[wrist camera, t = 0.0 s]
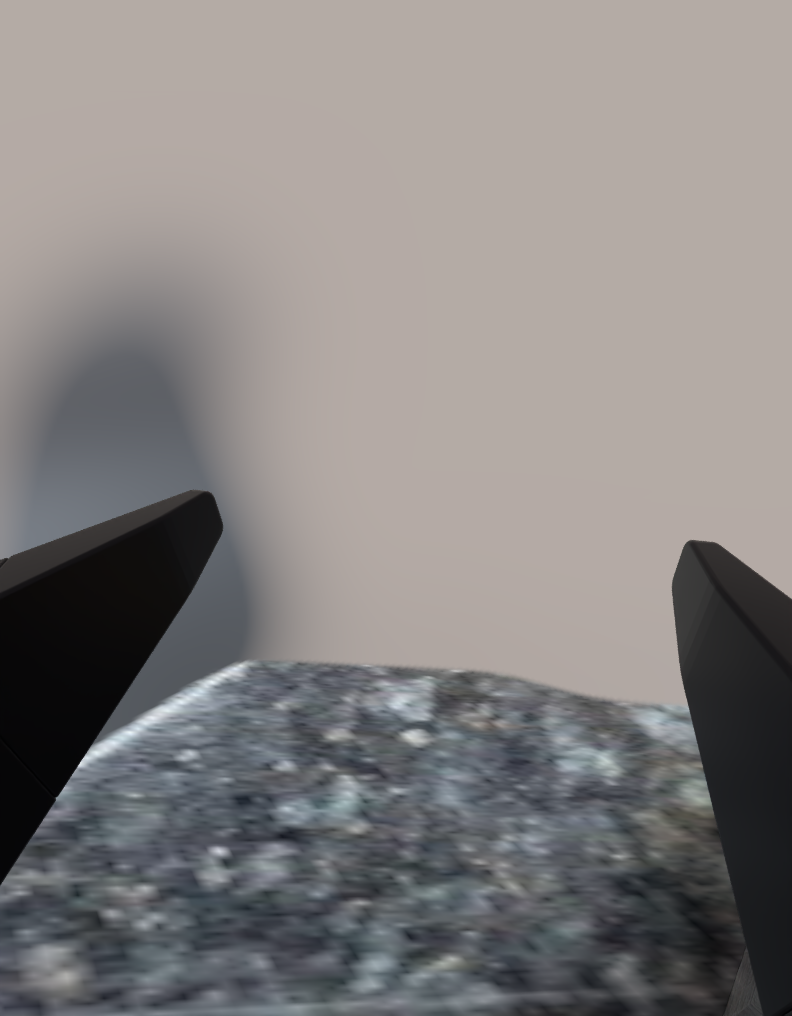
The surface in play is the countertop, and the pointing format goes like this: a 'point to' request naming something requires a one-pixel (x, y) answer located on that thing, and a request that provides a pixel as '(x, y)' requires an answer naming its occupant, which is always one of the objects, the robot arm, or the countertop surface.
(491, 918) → the countertop surface
